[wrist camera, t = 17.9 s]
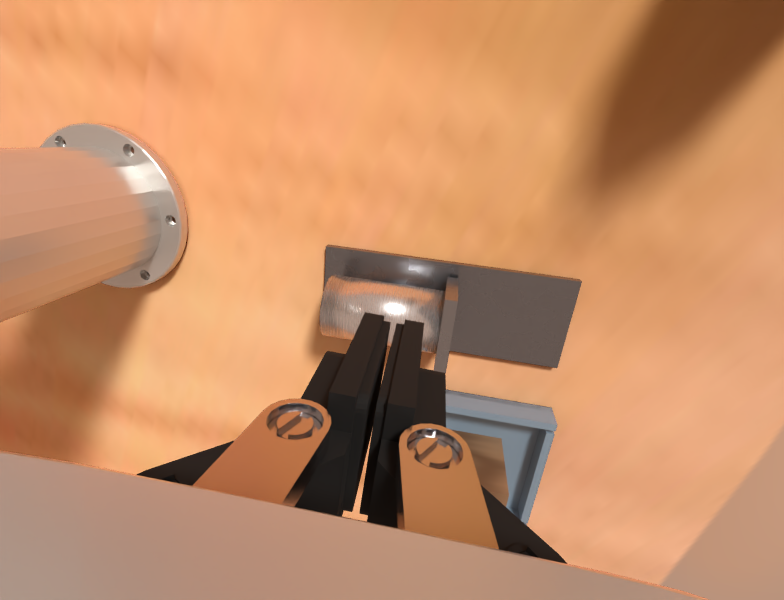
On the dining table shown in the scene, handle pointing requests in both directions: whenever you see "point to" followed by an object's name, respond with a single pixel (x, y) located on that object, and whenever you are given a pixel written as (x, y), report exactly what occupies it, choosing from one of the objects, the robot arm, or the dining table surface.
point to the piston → (391, 310)
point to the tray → (508, 439)
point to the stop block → (488, 463)
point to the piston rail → (479, 301)
